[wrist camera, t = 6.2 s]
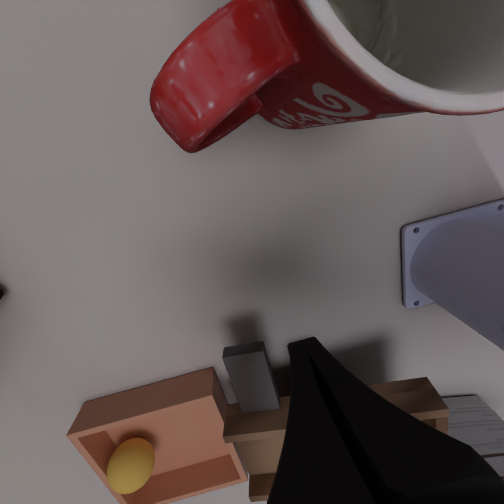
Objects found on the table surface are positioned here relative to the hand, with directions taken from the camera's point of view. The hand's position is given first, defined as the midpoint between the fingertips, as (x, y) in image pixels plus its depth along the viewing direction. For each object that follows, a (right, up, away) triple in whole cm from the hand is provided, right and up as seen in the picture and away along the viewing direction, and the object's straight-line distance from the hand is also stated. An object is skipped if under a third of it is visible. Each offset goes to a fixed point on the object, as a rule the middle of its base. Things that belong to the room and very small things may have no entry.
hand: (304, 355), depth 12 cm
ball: (-14, -14, +11) cm, 23 cm away
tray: (-11, -13, +14) cm, 21 cm away
